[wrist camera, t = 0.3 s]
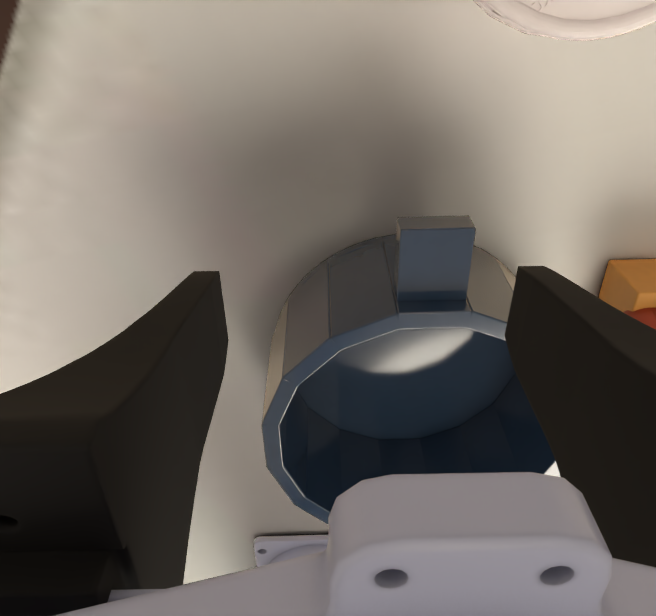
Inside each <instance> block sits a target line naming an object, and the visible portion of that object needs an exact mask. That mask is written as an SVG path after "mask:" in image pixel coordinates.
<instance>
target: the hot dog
mask: <svg viewBox="0 0 656 616" xmlns="http://www.w3.org/2000/svg"><path fill="white" fill-rule="evenodd" d="M598 298H599V299H601V300H603V301H604V302H606V303H608V304H609V305H611V306H613V307H615V308H616V309H618V310H620V311H622V312H623V313H625V314H627V315H629V316H631V317H633V318H634V319H636V320H638V321H640V322H642V323H644V324H646V325H648V326H650V327H652V328H654V329H656V259H629V260H609V262H608V265H607V269H606V272H605V276H604V279H603V283H602V286H601V290H600V293H599V297H598Z"/></svg>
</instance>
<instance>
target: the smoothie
mask: <svg viewBox="0 0 656 616" xmlns="http://www.w3.org/2000/svg"><path fill="white" fill-rule="evenodd" d="M473 1H474V2H475V3H476V4H477V5H478V6H480V7H481V8H482V9H483V10H484V11H485V12H486V13H487V14H488V15H489V16H490V17H492V18H494V19H496V20H498V21H500V22H502V23H504V24H506V25H508V26H510V27H512V28H514V29H516V30H518V31H521V32H523V33H525V34H532V35H539V36H545V37H550V38H555V39H561V40H573V41H581V40H597V39H604V38H610V37H614V36H618V35H623V34H626V33H629V32H632V31H635V30H638V29H641V28H643V27H645V26H648V25H650V24H652V23H654V22H656V0H473Z"/></svg>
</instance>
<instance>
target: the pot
mask: <svg viewBox="0 0 656 616" xmlns="http://www.w3.org/2000/svg"><path fill="white" fill-rule="evenodd" d="M475 231H476V228H475V226H474V224H473V222H472V220H471V218H470V217H469V216H468V215H467V216H427V217H398V218H397V227H396V235H389V236H384V237H379V238H374V239H370V240H367V241H364V242H361V243H358V244H355V245H353V246H351V247H348V248H346V249H344V250H342V251H340V252H338V253H336V254H334V255H333V256H331V257H330V258H328V259H326V260H325V261H323V262H322V263H320V264H319V265H318V266H317V267H316V268H314V269H313V270H312V271H311V272H309V273H308V274H307V275H306V276H305V277H304V278H303V280H302V281H301V282H300V283H299V284H298V285H297V286H296V287H295V289H294V290H293V292H292V293H291V294H290V296H289V297H288V299H287V301H286V303H285V305H284V307H283V309H282V310H281V312H280V316H279V319H278V322H277V325H276V329H275V332H274V334H273V337H272V340H271V348H270V356H269V365H268V373H267V382H266V390H265V399H264V407H263V416H262V424H261V425H262V433H263V442H264V450H265V459H266V467H267V468H268V470H269V471H270V473H271V474H272V475H273V477H274V478H275V479H276V481H277V482H278V483H279V485H280V486H281V488H282V489H283V490H284V492H285V493H286V494H287V496H288V497H289V498H290V500H291V501H292V502H293V504H294V505H296V506H298V507H299V508H301V509H303V510H304V511H306V512H308V513H309V514H311V515H313V516H315V517H316V518H318V519H320V520H321V521H323V522H325V523H326V524H328V517H329V515H330V512H331V510H332V507H333V505H334V502H335V500H336V497H338V496H339V495H341V494H342V493H344V492H345V491H347V490H348V489H350V488H351V487H353V486H354V485H356V484H357V483H359V482H360V481H362V480H365V479H371V478H376V477H381V476H386V475H391V474H444V473H501V472H534V473H539V474H545V475H551V476H557V477H558V476H559V475H560V473H559V470H558V467H557V464H556V461H555V458H554V455H553V453H552V451H551V448H550V446H549V443H548V441H547V439H546V437H545V435H544V432H543V430H542V428H541V426H540V424H539V422H538V420H537V418H536V415H535V413H534V411H533V409H532V407H531V405H530V403H529V401H528V399H527V396H526V394H525V392H524V390H523V388H522V386H521V383H520V381H519V379H518V377H517V375H516V372H515V370H514V367H513V364H512V361H511V357H510V354H509V350H508V347H507V343H506V339H505V331H506V326H507V321H508V316H509V311H510V306H511V301H512V296H513V291H514V286H515V281H516V277H515V276H514V275H513V273H512V272H511V271H510V270H509V269H508V268H507V267H506V266H505V265H504V264H502V263H501V262H500V261H499V260H498V259H497V258H495V257H494V256H492V255H490V254H489V253H487V252H486V251H484V250H482V249H480V248H478V247H476V246H474V238H475Z"/></svg>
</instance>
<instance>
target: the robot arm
mask: <svg viewBox="0 0 656 616" xmlns="http://www.w3.org/2000/svg"><path fill="white" fill-rule="evenodd" d="M505 339H506V343H507V347H508V350H509V354H510V357H511V361H512V364H513V367H514V370H515V372H516V375H517V377H518V379H519V381H520V383H521V386H522V388H523V390H524V392H525V394H526V396H527V399H528V401H529V403H530V405H531V407H532V409H533V411H534V413H535V415H536V418H537V420H538V422H539V424H540V426H541V428H542V430H543V432H544V435H545V437H546V439H547V441H548V443H549V446H550V448H551V451H552V453H553V455H554V458H555V461H556V464H557V467H558V470H559V473H560V476H561V477H557V476H551V475H545V474H539V473H534V472H501V473H444V474H391V475H386V476H381V477H376V478H371V479H365V480H362V481H360V482H359V483H357V484H356V485H354V486H353V487H351V488H350V489H348V490H347V491H345V492H344V493H342V494H341V495H339V496H338V497H336V500H335V502H334V505H333V507H332V510H331V512H330V515H329V517H328V526H329V535H295V536H260V537H257V538H255V540H254V545H253V547H254V553H255V559H256V566H257V567H255V568H251V569H247V570H243V571H238V572H234V573H230V574H226V575H222V576H217V577H213V578H209V579H205V580H201V581H196V582H192V583H188V584H184V585H183V579H184V571H185V563H186V555H187V547H188V539H189V532H190V525H191V518H192V511H193V504H194V497H195V491H196V485H197V479H198V472H199V466H200V461H201V457H202V452H203V448H204V444H205V441H206V437H207V433H208V430H209V426H210V423H211V419H212V416H213V412H214V409H215V405H216V401H217V398H218V394H219V391H220V387H221V383H222V380H223V376H224V370H225V363H226V355H227V347H228V334H227V326H226V318H225V311H224V303H223V296H222V288H221V281H220V273H219V271H194V272H193V273H191V274H190V275H189V276H188V277H187V278H186V279H184V280H183V281H182V282H181V283H180V284H179V285H178V286H177V287H176V288H175V289H174V290H172V291H171V292H170V293H169V294H168V295H167V296H166V297H165V298H163V299H162V300H161V301H160V302H159V303H158V304H157V305H155V306H154V307H153V308H152V309H151V310H150V311H148V312H147V313H146V314H145V315H143V316H142V317H141V318H139V319H138V320H137V321H136V322H134V323H133V324H132V325H130V326H129V327H128V328H127V329H125V330H124V331H123V332H121V333H120V334H118V335H117V336H116V337H114V338H113V339H111V340H110V341H108V342H106V343H105V344H103V345H102V346H100V347H98V348H97V349H95V350H94V351H92V352H90V353H89V354H87V355H85V356H83V357H81V358H79V359H77V360H75V361H73V362H72V363H70V364H68V365H66V366H64V367H62V368H60V369H58V370H56V371H54V372H52V373H50V374H48V375H46V376H43V377H41V378H39V379H37V380H34V381H32V382H30V383H27V384H25V385H22V386H20V387H17V388H15V389H12V390H10V391H7V392H4V393H2V394H0V616H656V329H654V328H652V327H650V326H648V325H646V324H644V323H642V322H640V321H638V320H636V319H634V318H633V317H631V316H629V315H627V314H625V313H623V312H622V311H620V310H618V309H616V308H615V307H613V306H611V305H609V304H608V303H606V302H604V301H603V300H601V299H599V298H598V297H596V296H594V295H593V294H591V293H589V292H588V291H586V290H585V289H583V288H581V287H580V286H578V285H576V284H575V283H573V282H572V281H570V280H568V279H567V278H565V277H563V276H562V275H560V274H558V273H556V272H555V271H553V270H551V269H549V268H547V267H545V266H518V271H517V276H516V281H515V286H514V291H513V296H512V301H511V306H510V311H509V316H508V321H507V326H506V331H505Z"/></svg>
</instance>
